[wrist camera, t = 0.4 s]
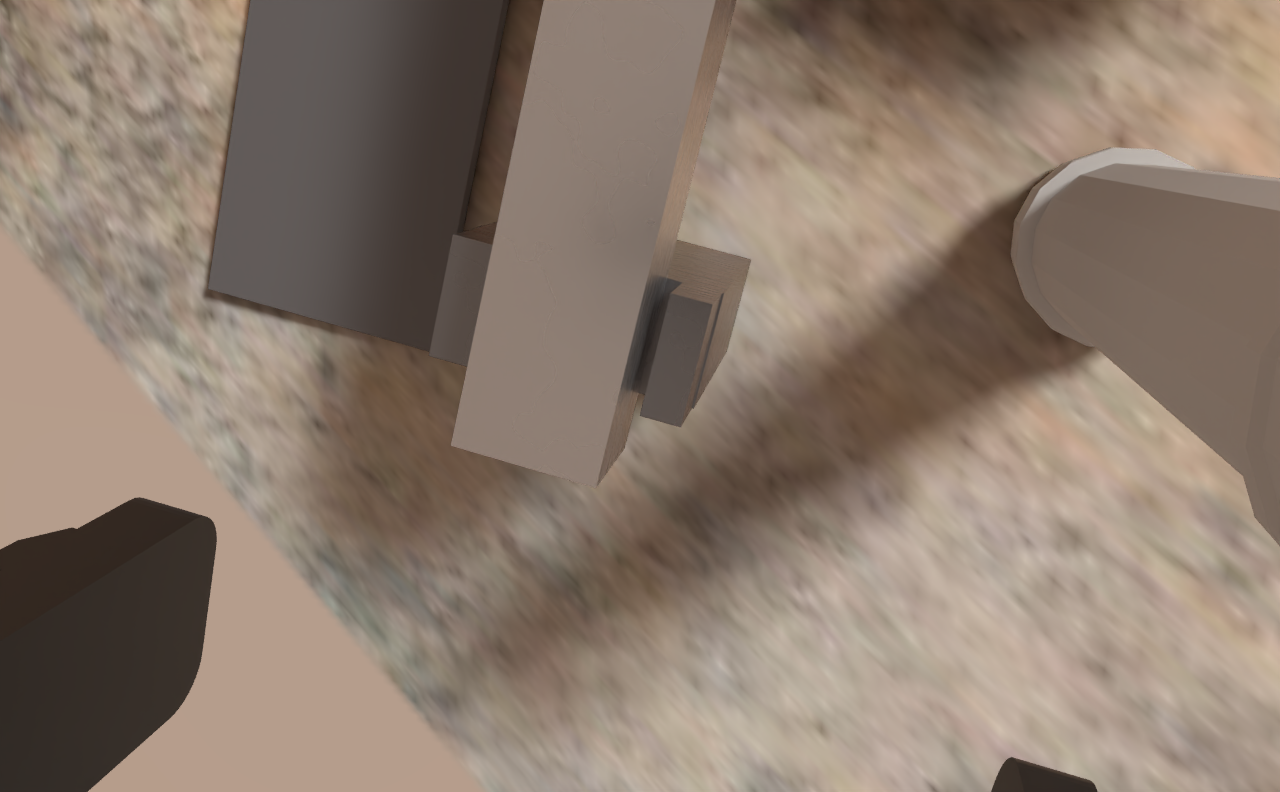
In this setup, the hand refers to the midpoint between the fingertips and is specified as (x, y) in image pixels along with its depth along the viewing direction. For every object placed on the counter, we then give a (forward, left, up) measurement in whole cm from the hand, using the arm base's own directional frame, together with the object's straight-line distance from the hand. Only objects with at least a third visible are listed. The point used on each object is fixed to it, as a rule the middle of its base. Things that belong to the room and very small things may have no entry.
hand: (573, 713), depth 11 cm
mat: (-8, -14, -26) cm, 31 cm away
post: (0, -4, -26) cm, 26 cm away
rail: (-8, -4, -18) cm, 20 cm away
